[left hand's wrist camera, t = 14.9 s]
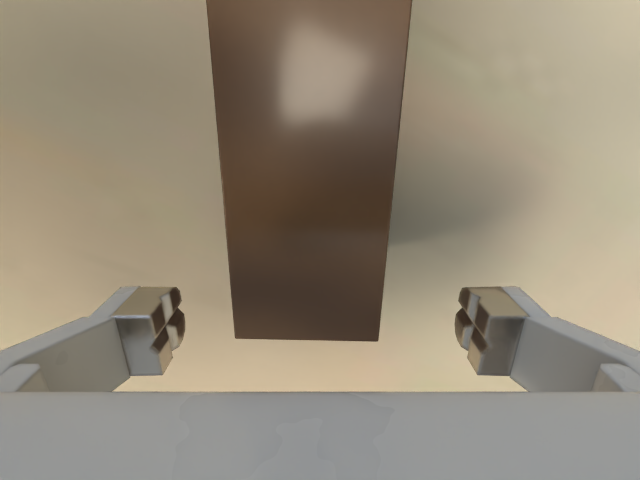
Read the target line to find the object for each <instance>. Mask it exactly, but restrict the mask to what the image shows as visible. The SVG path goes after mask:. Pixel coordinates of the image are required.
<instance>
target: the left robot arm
mask: <svg viewBox="0 0 640 480" xmlns="http://www.w3.org/2000/svg"><path fill="white" fill-rule="evenodd" d="M181 301H182V300H181V295H180V291H179V290H178V288H177V287H141V286H127V287H120V288H119V289H118V290H117V291H116V292H115V293H114V294H113V295H112V296H111V297H110V298H109V299H108V300H106V301H105V302H104V303H103V304H102V305H101V306H100V307H99V308H98V309H97V310H96V311H95V312H94V313H92V314H91V315H90V316H89V317H82V318H79V319H77V320H75V321H72V322H70V323H67V324H65V325H62V326H60V327H58V328H55V329H53V330H50V331H48V332H45V333H43V334H41V335H38V336H36V337H33V338H31V339H28V340H26V341H24V342H21V343H19V344H16V345H14V346H11V347H9V348H7V349H4V350H2V351H0V480H640V351H638V350H636V349H633V348H631V347H628V346H626V345H623V344H621V343H619V342H616V341H614V340H611V339H609V338H607V337H604V336H602V335H599V334H597V333H594V332H592V331H590V330H587V329H585V328H582V327H580V326H577V325H575V324H573V323H570V322H568V321H565V320H563V319H561V318H558V317H551V316H550V315H549V314H548V313H547V312H545V311H544V310H543V309H542V308H541V307H540V306H539V305H538V304H537V303H536V302H535V301H534V300H533V299H531V298H530V297H529V296H528V295H527V294H526V293H525V292H524V291H523V290H522V289H521V288H520V287H516V286H505V287H465V288H462V289H461V292H460V294H459V300H458V301H459V303H460V304H461V306H462V309H461V310H460V311H459V312H458V313H457V314H456V318H455V334H456V337H457V340H458V342H459V344H460V346H461V347H462V348H464V349H466V350H467V351H468V356H467V358H468V360H469V362H470V363H471V365H472V367H473V368H474V370H475V372H476V374H477V375H492V376H510V378H511V379H513V380H514V381H515V382H517V383H518V384H519V385H521V386H522V387H523V388H525V389H526V390H527V391H528V392H112V391H113V390H114V389H116V388H117V387H118V386H120V385H121V384H122V383H124V382H125V381H126V380H128V379H129V378H130V376H148V375H163V374H164V372H165V370H166V368H167V367H168V365H169V363H170V362H171V360H172V358H173V356H172V351H173V350H174V349H176V348H178V347H179V346H180V344H181V342H182V340H183V337H184V332H185V317H184V314H183V313H182V312H181V311H180V310H179V309H178V306H179V304H180V303H181Z"/></svg>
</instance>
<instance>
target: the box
mask: <svg viewBox="0 0 640 480" xmlns="http://www.w3.org/2000/svg"><path fill="white" fill-rule="evenodd" d="M206 3H207V15H208V27H209V39H210V50H211V62H212V74H213V86H214V97H215V109H216V121H217V132H218V144H219V156H220V168H221V179H222V191H223V203H224V215H225V226H226V238H227V250H228V261H229V273H230V285H231V297H232V308H233V320H234V332H235V338H236V339H282V340H331V341H378V338H379V328H380V318H381V308H382V298H383V288H384V278H385V268H386V258H387V248H388V238H389V228H390V218H391V208H392V198H393V188H394V178H395V168H396V158H397V148H398V137H399V127H400V117H401V107H402V97H403V87H404V77H405V67H406V57H407V47H408V37H409V27H410V17H411V7H412V0H206Z"/></svg>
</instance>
